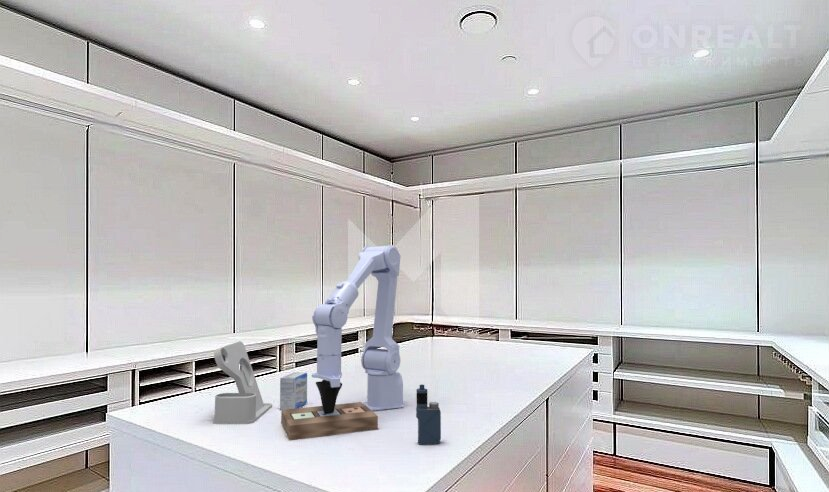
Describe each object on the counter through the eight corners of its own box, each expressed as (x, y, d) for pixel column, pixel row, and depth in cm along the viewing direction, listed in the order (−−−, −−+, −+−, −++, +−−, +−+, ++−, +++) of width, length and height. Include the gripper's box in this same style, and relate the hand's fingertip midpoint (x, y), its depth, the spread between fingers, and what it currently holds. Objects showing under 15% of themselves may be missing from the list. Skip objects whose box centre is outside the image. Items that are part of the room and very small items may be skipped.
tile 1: (310, 420, 112) (311, 411, 112) (314, 425, 108) (314, 416, 108) (291, 422, 111) (291, 413, 111) (294, 428, 106) (294, 418, 106)
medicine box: (294, 411, 125) (295, 377, 125) (279, 410, 126) (279, 377, 126) (307, 403, 132) (307, 372, 133) (292, 402, 133) (293, 371, 134)
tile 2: (359, 415, 117) (359, 406, 117) (364, 420, 113) (364, 410, 113) (341, 417, 115) (341, 408, 115) (346, 422, 111) (346, 412, 111)
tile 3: (335, 417, 115) (335, 408, 115) (340, 423, 110) (340, 413, 111) (316, 419, 113) (316, 410, 113) (320, 425, 109) (320, 415, 109)
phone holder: (251, 424, 113) (253, 348, 114) (209, 424, 113) (212, 348, 114) (273, 405, 130) (275, 339, 132) (237, 405, 130) (238, 339, 132)
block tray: (360, 413, 122) (360, 401, 122) (377, 429, 109) (377, 415, 109) (281, 422, 114) (281, 409, 114) (289, 440, 101) (289, 425, 101)
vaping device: (415, 441, 101) (415, 383, 102) (440, 440, 101) (439, 383, 102) (416, 445, 98) (416, 386, 99) (441, 444, 99) (441, 385, 100)
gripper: (307, 351, 118) (306, 406, 117) (318, 359, 105) (317, 422, 104) (334, 349, 121) (334, 404, 120) (349, 357, 107) (348, 419, 106)
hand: (328, 412), depth 112 cm, fingers closed, pressing on tile 3
